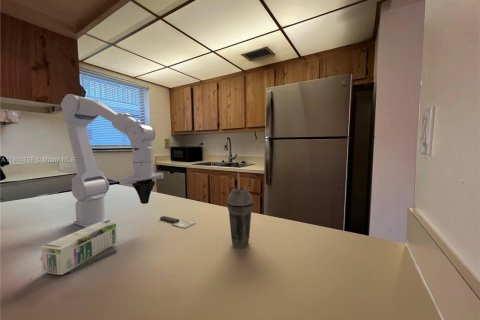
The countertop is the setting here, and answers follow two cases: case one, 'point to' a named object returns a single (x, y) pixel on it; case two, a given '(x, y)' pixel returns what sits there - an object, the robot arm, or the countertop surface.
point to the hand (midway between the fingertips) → (144, 203)
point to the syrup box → (77, 247)
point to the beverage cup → (240, 215)
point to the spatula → (178, 222)
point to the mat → (95, 258)
